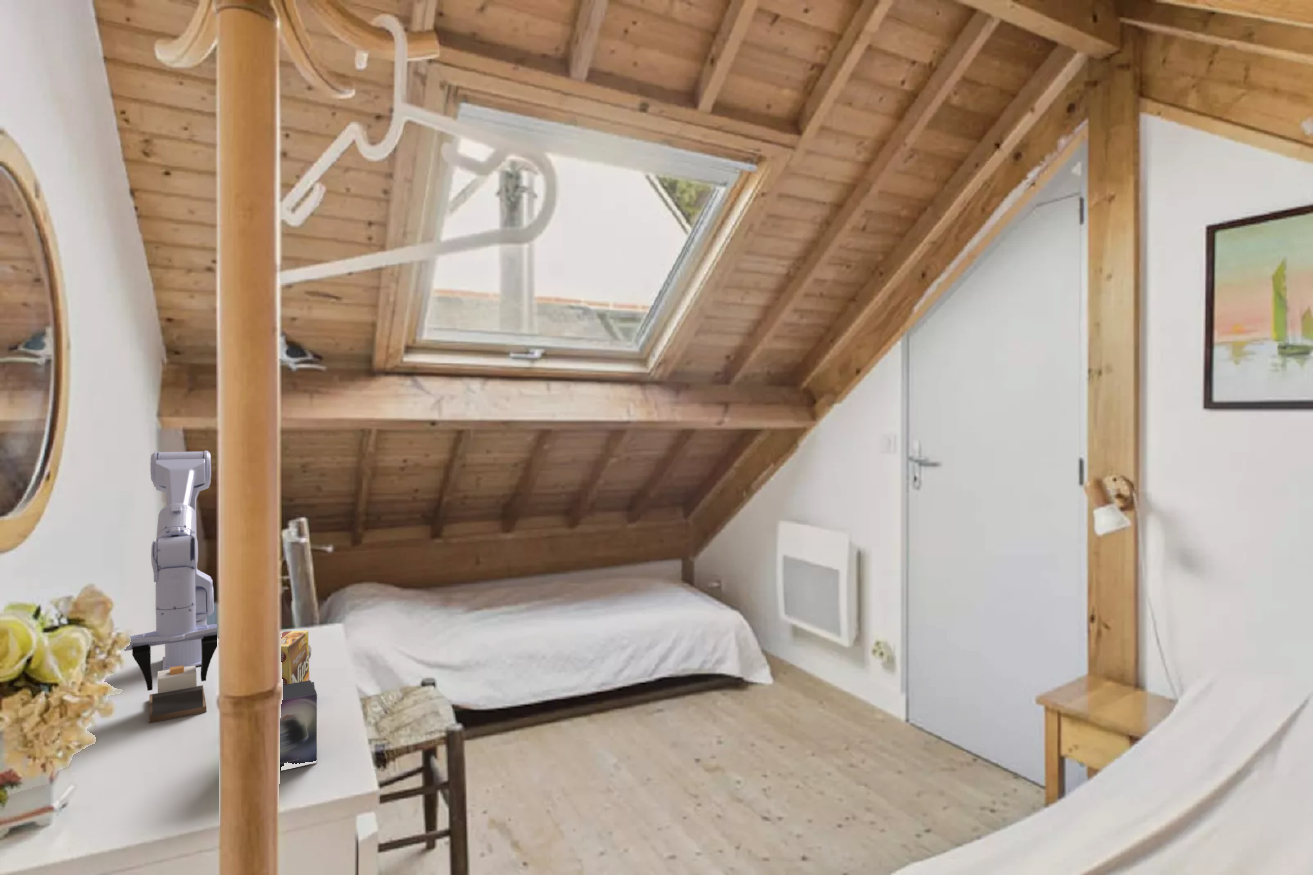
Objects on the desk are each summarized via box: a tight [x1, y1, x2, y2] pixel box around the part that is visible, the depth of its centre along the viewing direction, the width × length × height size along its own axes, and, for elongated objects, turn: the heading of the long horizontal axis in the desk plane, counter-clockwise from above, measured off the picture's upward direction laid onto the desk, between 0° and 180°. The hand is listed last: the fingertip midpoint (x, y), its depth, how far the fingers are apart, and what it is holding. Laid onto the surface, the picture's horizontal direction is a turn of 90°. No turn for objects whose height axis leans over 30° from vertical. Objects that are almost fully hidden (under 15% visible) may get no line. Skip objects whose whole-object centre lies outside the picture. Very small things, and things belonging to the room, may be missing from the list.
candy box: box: [281, 630, 310, 685], centre depth 113 cm, size 9×4×15 cm, turn 8°
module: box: [157, 665, 198, 693], centre depth 125 cm, size 5×6×6 cm
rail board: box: [148, 684, 207, 724], centre depth 125 cm, size 12×8×4 cm, turn 35°
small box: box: [280, 679, 318, 772], centre depth 103 cm, size 11×6×10 cm, turn 123°
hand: (177, 684), depth 125 cm, fingers open, 7 cm apart
